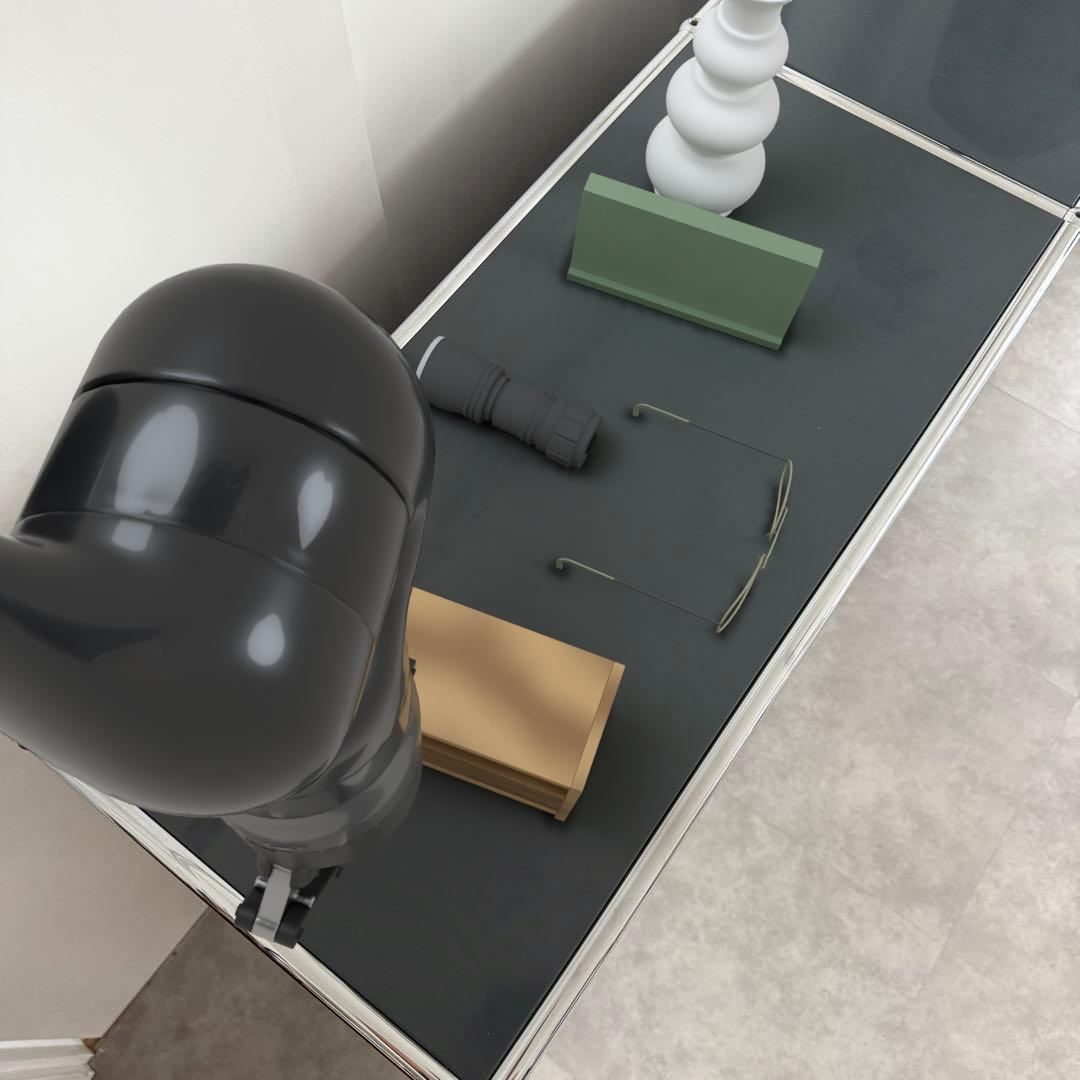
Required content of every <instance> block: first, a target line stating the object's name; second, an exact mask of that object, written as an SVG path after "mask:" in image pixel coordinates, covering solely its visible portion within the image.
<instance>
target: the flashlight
mask: <svg viewBox="0 0 1080 1080" xmlns="http://www.w3.org/2000/svg"><path fill="white" fill-rule="evenodd" d="M415 373H416V374H417V376H418V378H419V380H420V383H421V385H422V387H423V389H424V392H425V394H426V397H427V400H428V403H429V405H432V406H434V407H437V408H439V409H441V410H442V411H445V412H449V413H455V414H459V415H463V417H464V418H467V419H468V418H469V420H470V421H474V422H475V423H476V424H481V423H483V422H485V421H486V422H488V423H491V425H492V426H494V427H496V428H498V429H500V430H501V431H503V432H505V433H507V434H510V435H513V436H514V437H516V438H519V440H520V441H521V442H524V443H525V442H526V444H528V445H534V447H535V449H536V450H539V451H541V452H543V453H544V454H545V455H546V457H547V459H549V460H550V461H553V462H555V463H556V464H558V465H561V466H563V467H565V468H567V469H568V468H570V467H573V468H577V469H580V468H581V467H582V465H583V464H584V462H585V461H586V458H587V456H588V455H589V454H590V453H592V452H593V450H594V448H595V446H596V444H597V441H598V434H599V432H600V429H601V426H602V423H603V420H604V417H603V416H601V415H599V414H597V412H596V409H595V408H592V407H590V406H589V405H585V404H584V403H583V402H580V401H577V400H576V399H574V400H571V401H569V400H567V399H564V398H562V397H560V396H559V397H557V398H556V397H555V396H554V395H553V393H548V392H547V391H546V390H540V389H538V388H535V387H534V386H531V385H529V384H527V383H525V382H522V381H521V380H518V379H516V378H512V379H511V378H510V377H508V376H506V370H505V369H504V367H501V366H500V367H499V366H498V365H497V364H493V362H491V361H486V360H485V359H484V358H483V357H481V355H479V354H477V353H476V352H475V351H474V350H472V349H470V348H468V347H465V346H463V345H462V344H459V343H457V342H455V341H453V340H451V339H449V338H446V337H445V336H442V335H439V336H437V337H435V338H434V339H433V341H432V342H431V343H430V344H429V345H428V347H427V348H426V351H425V353H424V354H423V355H422V358H421V359H420V362H419V364H418V367H417V369H416V371H415Z"/></svg>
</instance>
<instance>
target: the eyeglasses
mask: <svg viewBox="0 0 1080 1080" xmlns="http://www.w3.org/2000/svg"><path fill="white" fill-rule="evenodd" d="M632 409H633V410H632V413H631V414H632V416H633V417H635V418H638V417H639V414H640V412H639V411H640V409H648V410H650V411H653V412H656V413H658V414H661V415H663V416H665V417H669V418H670V419H674V420H675V421H679V422H681V423H684V424H686V425H690V426H693V427H695V428H697V429H700V430H703V431H705V432H708V433H711V434H712V435H715V436H719V437H721V438H723V439H726V440H728V441H731V442H733V443H736V444H738V445H741V446H744V447H746V448H748V449H751V450H754V451H757V452H758V453H759V452H760V453H762V454H764V455H767V456H769V457H772V458H774V459H776V460H780V461H781V462H784V463H785V465H784V467H783V470H782V473H781V478H780V481H779V488H778V496H777V503H776V509H775V512H774V513H775V514H774V517H773V518H774V519H773V523H772V527H771V530H770V532H768V533H767V534H766V537H768V539H767V541H768V542H771V541H772V538H773V536H774V534H775V536H774V539H773V541H772V543H771V545H770V548H769V550H768V553H767V555H766V554H765V553H762V555H761V556H760V555H758V556H757V559H759V560H758V564H757V566H756V567H755V570H754V572H753V573H752V575H751V577H750V579H749V580H748V582H747V583H746V585H745V587H744V588H743V589H742V591H741V592H740V594H739V595H738V597H736V599H735V600H734V602H733V603H732V604H731V606H730V607H729V608H728V610H727V611H726V612H725V614H724V615H723V616H722V618H721V620H720V621H719V622H718V621H717V620H713V619H710V618H708V617H707V616H703V615H701V614H699V613H698V612H694V611H692V610H690V609H687V608H685V607H682V606H681V605H678V604H675V603H673V602H671V601H668V600H666V599H664V598H661V597H659V596H656V595H654V594H652V593H650V592H647V591H645V590H643V589H640V588H637V587H634V586H633V585H630V584H628V583H626V582H623V581H621V580H618V579H616V578H615V577H613V576H610V575H608V574H605V573H603V572H601V571H600V570H599V571H598V570H596V569H594V568H592V567H589V566H588V565H587V566H586V565H584V564H582V563H580V562H578V561H576V560H573V559H570V558H566V557H561V558H558V559H557V561H556V564H555V568H557V569H559V570H563V567H564V566H563V563H569V564H571V565H573V566H576V567H577V568H581V569H583V570H585V571H588V572H590V573H592V574H595V575H598V576H599V577H601V578H605V579H607V580H609V581H612V582H614V583H617V584H620V585H622V586H624V587H627V588H629V589H632V590H634V591H636V592H639V593H641V594H644V595H646V596H648V597H651V598H653V599H655V600H658V601H660V602H663V603H664V604H667V605H669V606H672V607H674V608H677V609H679V610H681V611H684V612H686V613H689V614H691V615H693V616H696V617H698V618H700V619H703V620H706V621H708V622H710V623H713V624H715V625H717V627H716V629H715V633H716V634H718V633H719V634H720V633H721V632H722V631H723V630H724V629H725V628H726V627H727V625H728V624H729V623H730V622H731V621H732V619H733V618H734V617H735V615H736V614H737V612H738V611H739V609H740V608H741V606H742V604H743V603H744V601H745V599H746V597H747V595H748V593H749V591H750V589H751V588H752V585H753V583H754V580H755V579H756V576H757V574H758V572H759V570H760V569H761V570H762V569H765V567H766V564H767V561H768V560H769V558H770V556H771V554H772V551H773V549H774V546H775V544H776V542H777V539H778V536H779V533H780V530H781V527H782V525H783V522H784V520H785V518H786V516H787V513H788V510H789V509H788V507H786V504H787V500H788V497H789V493H790V488H791V484H792V479H793V478H792V477H793V462H792V460H791V459H787V458H784V457H783V456H782V457H781V456H779V455H777V454H774V453H771V452H769V451H766V450H763V449H761V448H758V447H755V446H754V445H751V444H748V443H746V442H744V441H740V440H738V439H735V438H733V437H730V436H727V435H726V434H722V433H720V432H717V431H715V430H712V429H710V428H707V427H704V426H702V425H699V424H697V423H694V422H692V421H690V420H688V419H686V418H684V417H681V416H678V415H676V414H673V413H671V412H668V411H665V410H663V409H660V408H657V407H656V406H652V405H650V404H646V403H638V404H636V405H634V407H633V408H632ZM788 466H789V478H788V483H787V488H786V491H785V495H784V499H783V502H782V506H781V509H780V502H781V496H782V487H783V481H784V477H785V474H786V471H787V468H788ZM784 509H785V511H784ZM779 510H780V512H779ZM783 512H784V514H783ZM782 514H783V516H782ZM781 517H782V519H781ZM780 520H781V522H780ZM778 525H779V526H778ZM777 527H778V529H777ZM776 530H777V531H776ZM764 559H765V561H764ZM763 562H764V563H763ZM762 563H763V565H762ZM761 565H762V567H761ZM740 599H741V600H740ZM738 602H739V603H738ZM737 603H738V604H737ZM736 604H737V607H736V608H735V610H734V611H733V613H732V614H731V615H730V617H729V618H728V619H727V621H726V622H725V620H726V618H727V617H728V615H729V614H730V612H731V611H732V610H733V608H734V607H735V606H736ZM724 622H725V623H724Z"/></svg>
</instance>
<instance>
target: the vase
mask: <svg viewBox="0 0 1080 1080" xmlns="http://www.w3.org/2000/svg"><path fill="white" fill-rule="evenodd" d="M793 1H794V0H721V1H720V2H719V4H718V5H715V6H713V7H712V8H710V9H708V11H707V12H705V13H704V14H703V15H702V16H701V18H700V19H699V21H698V22H697V24H696V26H695V29H694V31H693V35H692V49H693V54H694V56H693V57H691V58H689V59H688V60H687V61H685V62H683V64H682V65H680V66H679V68H677V70H676V71H675V72H674V73H673V75H672V77H671V78H670V81H669V83H668V86H667V89H666V94H665V106H666V112H667V114H666V115H665V116H664V117H663V118H662V119H661V120H660V121H659V122H658V123H657V125H656V126H655V127H654V129H652V132H651V134H650V136H649V138H648V141H647V144H646V149H645V165H646V171H647V175H648V178H649V180H650V182H651V184H652V186H653V190H654V193H655V194H658V195H661V196H664V197H667V198H670V199H673V200H676V201H679V202H682V203H685V204H688V205H691V206H694V207H697V208H700V209H703V210H706V211H709V212H712V213H715V214H718V215H721V216H724V217H727V216H729V215H730V214H731V213H732V212H733V211H734V210H735V209H738V208H739V207H741V206H742V205H743V204H745V203H746V202H747V201H748V200H749V199H750V198H751V197H752V196H753V195H754V194H755V192H756V191H757V190H758V188H759V187H760V184H761V182H762V180H763V178H764V175H765V169H766V152H765V148H764V143H763V141H765V140H766V138H767V137H768V136H769V135H770V134H771V133H772V131H773V129H774V128H775V126H776V123H777V122H778V119H779V114H780V107H781V106H780V105H781V104H780V103H781V101H780V95H779V91H778V87H777V85H776V83H775V81H774V79H773V78H774V77H776V76H777V75H778V74H779V72H780V71H781V70H782V68H783V67H784V65H785V64H786V61H787V58H788V54H789V47H790V45H789V37H788V34H787V31H786V29H785V26H784V24H783V23H782V16H781V12H782V9H783V6H785V5H787V4H789V3H791V2H793Z"/></svg>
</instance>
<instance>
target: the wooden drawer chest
mask: <svg viewBox="0 0 1080 1080" xmlns="http://www.w3.org/2000/svg"><path fill="white" fill-rule="evenodd" d="M406 641H407V645H408V654H409V658H412V659H415V660H416V665H415V669H416V673H415V675H414V681H415V684H416V688H417V692H418V696H419V702H420V711H421V733H422V766H426V767H428V768H431V769H434V770H436V771H439V772H441V773H444V774H447V775H449V776H451V777H454V778H456V779H460V780H462V781H465V782H467V783H470V784H473V785H476V786H478V787H481V788H483V789H486V790H489V791H491V792H494V793H496V794H499V795H502V796H504V797H507V798H509V799H512V800H514V801H518V802H520V803H522V804H525V805H528V806H531V807H532V808H535V809H539V810H541V811H544V812H546V813H548V814H551V815H554V819H556V820H558V821H561V822H565V821H566V819H567V817H568V816H569V814H570V813H571V811H572V810H573V808H574V806H575V805H576V803H577V801H578V799H579V798H580V796H581V795H582V793H583V792H584V788H585V785H586V782H587V779H588V777H589V774H590V770H591V768H592V765H593V762H594V759H595V757H596V753H597V751H598V747H599V744H600V741H601V739H602V735H603V733H604V730H605V727H606V724H607V721H608V718H609V715H610V712H611V709H612V707H613V704H614V701H615V698H616V695H617V692H618V689H619V686H620V684H621V680H622V677H623V674H624V671H625V668H626V665H625V664H622V663H620V662H617V661H614V660H612V659H610V658H606V657H604V656H601V655H598V654H596V653H593V652H590V651H587V650H586V649H585V650H584V649H582V648H579V647H577V646H574V645H572V644H568V643H566V642H563V641H561V640H558V639H555V638H553V637H550V636H547V635H544V634H542V633H538V632H536V631H534V630H531V629H529V628H527V627H523V626H520V625H518V624H515V623H512V622H510V621H506V620H504V619H501V618H498V617H496V616H493V615H490V614H488V613H485V612H482V611H480V610H477V609H474V608H471V607H469V606H466V605H463V604H460V603H458V602H456V601H453V600H450V599H447V598H444V597H442V596H439V595H436V594H435V593H431V592H428V591H426V590H423V589H420V588H417V587H414V586H413V587H412V592H411V596H410V601H409V606H408V615H407V626H406Z"/></svg>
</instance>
